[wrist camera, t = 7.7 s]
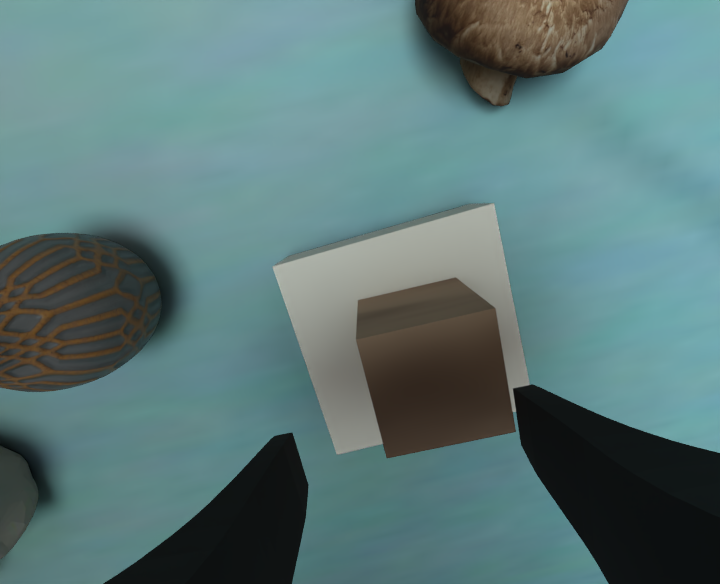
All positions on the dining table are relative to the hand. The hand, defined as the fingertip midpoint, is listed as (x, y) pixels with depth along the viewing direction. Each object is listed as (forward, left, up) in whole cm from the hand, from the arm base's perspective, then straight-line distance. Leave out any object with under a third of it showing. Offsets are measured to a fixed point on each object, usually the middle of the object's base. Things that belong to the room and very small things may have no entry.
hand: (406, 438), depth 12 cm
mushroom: (+14, -8, -10) cm, 19 cm away
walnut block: (+1, -1, -6) cm, 6 cm away
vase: (+6, +14, -10) cm, 18 cm away
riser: (+1, -1, -10) cm, 10 cm away
